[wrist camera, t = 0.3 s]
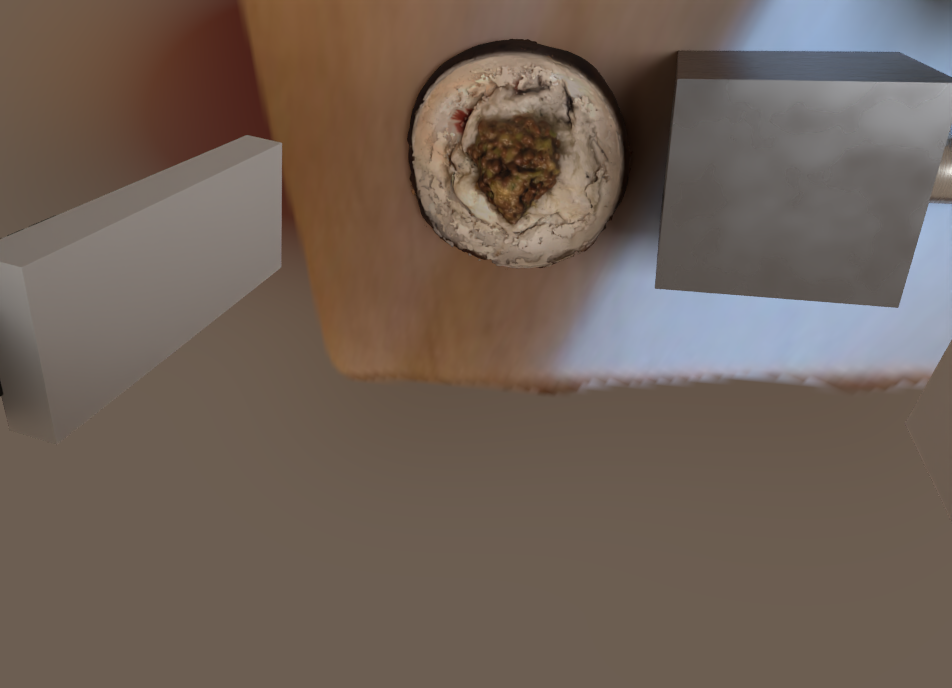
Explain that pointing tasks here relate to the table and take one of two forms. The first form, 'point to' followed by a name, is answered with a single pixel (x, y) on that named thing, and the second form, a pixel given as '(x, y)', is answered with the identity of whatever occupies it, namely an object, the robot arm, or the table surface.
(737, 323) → the table surface
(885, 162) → the block
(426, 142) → the cream tart
